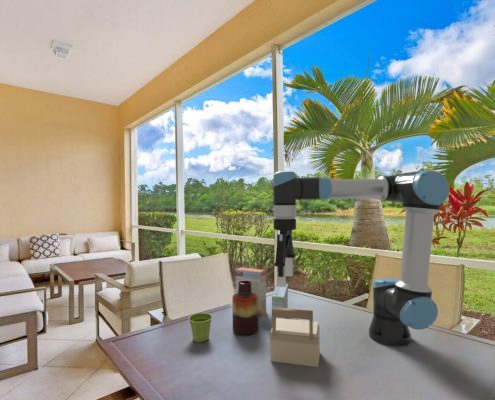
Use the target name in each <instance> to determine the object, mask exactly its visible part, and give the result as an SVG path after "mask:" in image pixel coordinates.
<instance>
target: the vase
mask: <svg viewBox="0 0 495 400" xmlns="http://www.w3.org/2000/svg"><path fill="white" fill-rule="evenodd" d="M231 301H232V332H233V333H234V334H235V335H236V336H243V337H245V336H246V337H248V336H253V335H256V334H257V333H258V332H259V316H258V296H257V294H255V293H253V292H252V284H251V281H240V282H239V283H238V293H236V292H235V293H234V294H233V295H232V300H231Z"/></svg>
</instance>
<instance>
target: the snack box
mask: <svg viewBox="0 0 495 400" xmlns="http://www.w3.org/2000/svg"><path fill="white" fill-rule="evenodd" d="M288 294H289V283H286V287H277V285H276V287H275V289H274V292H273V294H272V297H271V309H272V308H273V307H274V308H286V309H289V308H288V307H289V306H288V303H289V301H288V300H289V298H288V297H289V296H288ZM276 318H283V319H288V318H285V317H276Z"/></svg>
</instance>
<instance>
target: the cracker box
mask: <svg viewBox="0 0 495 400" xmlns="http://www.w3.org/2000/svg"><path fill="white" fill-rule="evenodd" d="M266 271H267V270H266V269H261V268H260V269H259V268H254V267H253V268H252V267H244V266H243V267H242V266H241V267H239V268H236V269H235V294H236V293H238V283H239V282H240V281H251V284H252V292H253V293H255V294H257V296H258V317H261V316H263V315H264V314H266V313H267V277H266V275H267V272H266Z"/></svg>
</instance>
